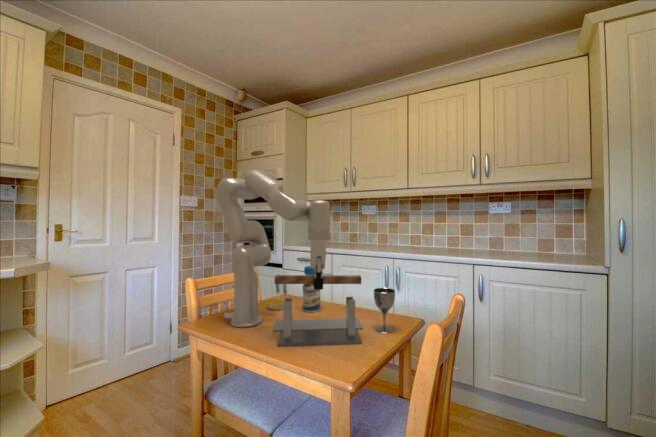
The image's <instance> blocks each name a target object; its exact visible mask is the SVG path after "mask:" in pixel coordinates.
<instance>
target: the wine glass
mask: <svg viewBox="0 0 656 437" xmlns="http://www.w3.org/2000/svg"><path fill="white" fill-rule="evenodd" d="M395 296H396V291H395V289H393V288H388V287H378V288H377V287H376V288H374V289H373V299H374V304H375V306H376V307H377V309H378V310H379V311H380V312H381V314H382V321H383V324H382V325H381V326H377V327H375V329H374V330H375V332H378V333H381V334H391V333H393V332H395V329H394V328H393V327H390V326H387V324H386V320H387V319H386V318H387V314H388V312H389V311H390V310H391V309H392V308H393V306H394V304H395V299H396V297H395Z"/></svg>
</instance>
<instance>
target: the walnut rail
mask: <svg viewBox="0 0 656 437" xmlns="http://www.w3.org/2000/svg"><path fill="white" fill-rule="evenodd" d="M314 278H315V275H305V274H304V275H302V274H301V275H300V274H299V275H297V274H295V275H290V274H289V275H288V274H286V275H285V274H283V275H282V274H281V275H277V274H276V275H275V276H274V285H304V284H314ZM323 285H362V276H361V275H357V274H356V275H350V274H349V275H347V274H346V275H345V274H344V275H333V274H331V275H327V274H326V275H324V274H323Z"/></svg>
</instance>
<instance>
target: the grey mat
mask: <svg viewBox="0 0 656 437" xmlns="http://www.w3.org/2000/svg"><path fill="white" fill-rule="evenodd" d="M327 330H346V318H327V319H326V318H324V319H323V318H322V319H321V318H318V319H316V318H315V319H292V332H295V331H327ZM355 330H364V327H363V325H362V323H361V322H360V318H358V317H357V318H356V317H355ZM272 332H273V333H280V332H284V319H282V320H275V323H274V326H273V329H272Z"/></svg>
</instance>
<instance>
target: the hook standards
mask: <svg viewBox="0 0 656 437" xmlns="http://www.w3.org/2000/svg"><path fill="white" fill-rule="evenodd" d="M292 300H293V298H292V297H287V298H284V309H283V320H284V332H279V336H278V340H277V347H279V348H281V347H305V346H306V347H307V346H330V345H331V346H337V345H338V346H339V345H343V346H344V345H358V344H359V345H361V344H363V343H362V342H363V339H362V338H361V336H360V334H359V331H358V329H355V318H356V299H354V297H353V296H346V297H345V302H346V304H345V308H346V310H345V315H346V316H345V319H346V330H320V331H292V320H293V319H292V318H293V315H292V314H293V311H292V310H293V309H292V307H293V306H292V304H293V301H292Z"/></svg>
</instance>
